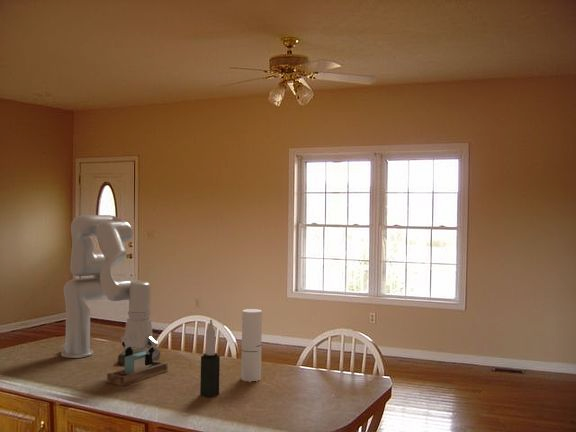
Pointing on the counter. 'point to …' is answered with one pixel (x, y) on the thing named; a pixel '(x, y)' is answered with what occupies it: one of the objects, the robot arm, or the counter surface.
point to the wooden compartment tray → (136, 374)
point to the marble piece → (122, 356)
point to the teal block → (135, 363)
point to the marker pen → (210, 366)
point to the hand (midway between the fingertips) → (138, 362)
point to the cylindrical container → (251, 344)
